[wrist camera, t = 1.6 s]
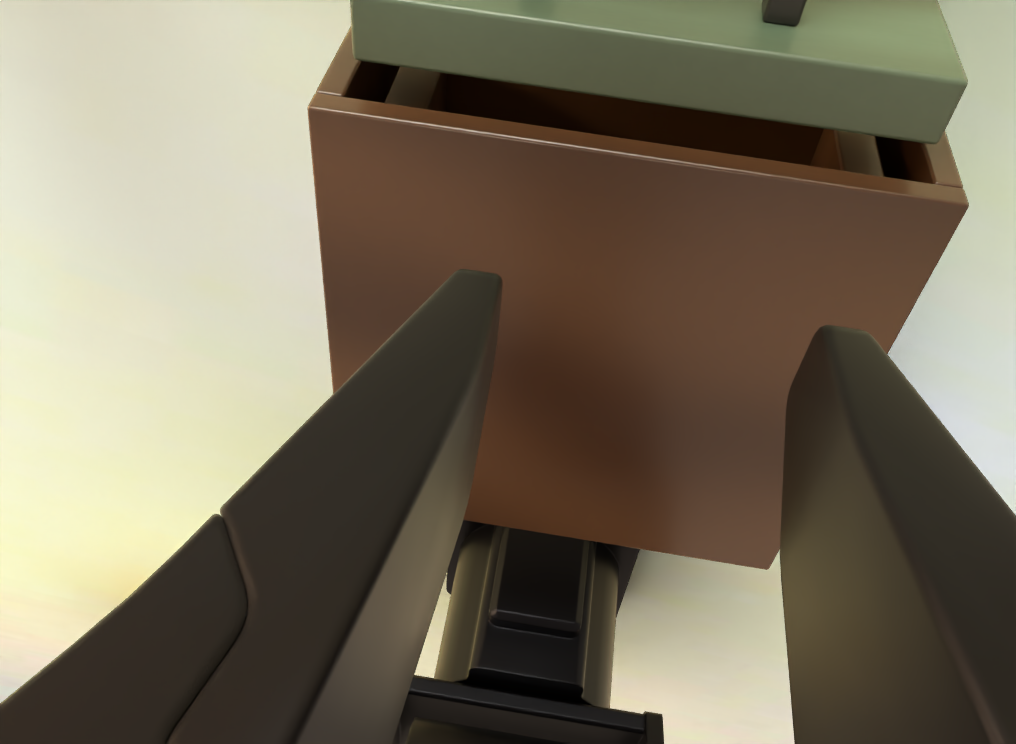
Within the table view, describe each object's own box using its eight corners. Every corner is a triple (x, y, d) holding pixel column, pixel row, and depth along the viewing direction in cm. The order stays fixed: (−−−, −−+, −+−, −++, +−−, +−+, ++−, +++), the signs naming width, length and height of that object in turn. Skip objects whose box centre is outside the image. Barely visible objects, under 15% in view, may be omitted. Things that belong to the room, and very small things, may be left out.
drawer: (394, -372, 14) (332, -321, 12) (1047, -287, 14) (1119, -219, 11) (400, 321, 25) (369, 421, 23) (764, 378, 25) (771, 485, 22)
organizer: (376, -25, 19) (306, 106, 15) (921, 53, 18) (971, 205, 15) (386, 361, 27) (342, 501, 24) (760, 421, 27) (768, 571, 24)
